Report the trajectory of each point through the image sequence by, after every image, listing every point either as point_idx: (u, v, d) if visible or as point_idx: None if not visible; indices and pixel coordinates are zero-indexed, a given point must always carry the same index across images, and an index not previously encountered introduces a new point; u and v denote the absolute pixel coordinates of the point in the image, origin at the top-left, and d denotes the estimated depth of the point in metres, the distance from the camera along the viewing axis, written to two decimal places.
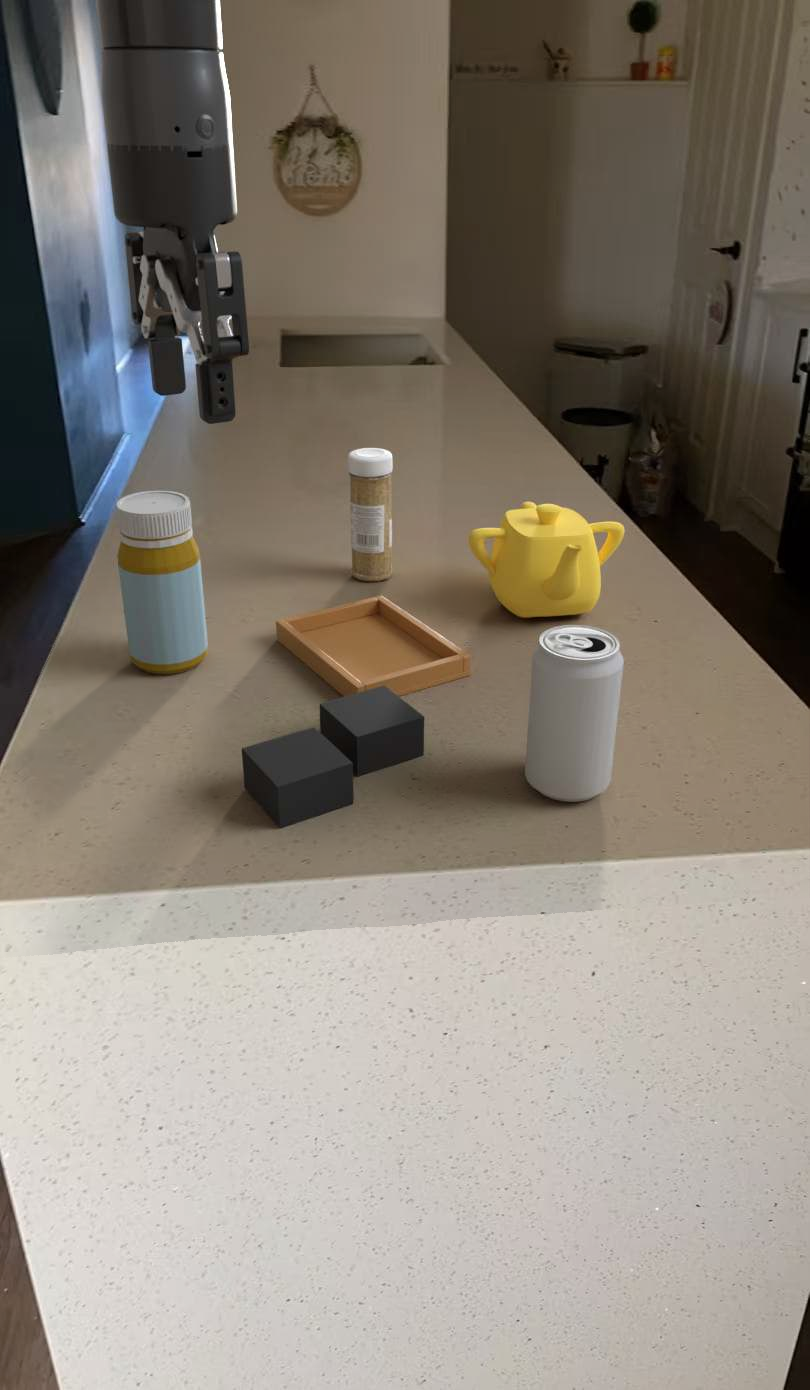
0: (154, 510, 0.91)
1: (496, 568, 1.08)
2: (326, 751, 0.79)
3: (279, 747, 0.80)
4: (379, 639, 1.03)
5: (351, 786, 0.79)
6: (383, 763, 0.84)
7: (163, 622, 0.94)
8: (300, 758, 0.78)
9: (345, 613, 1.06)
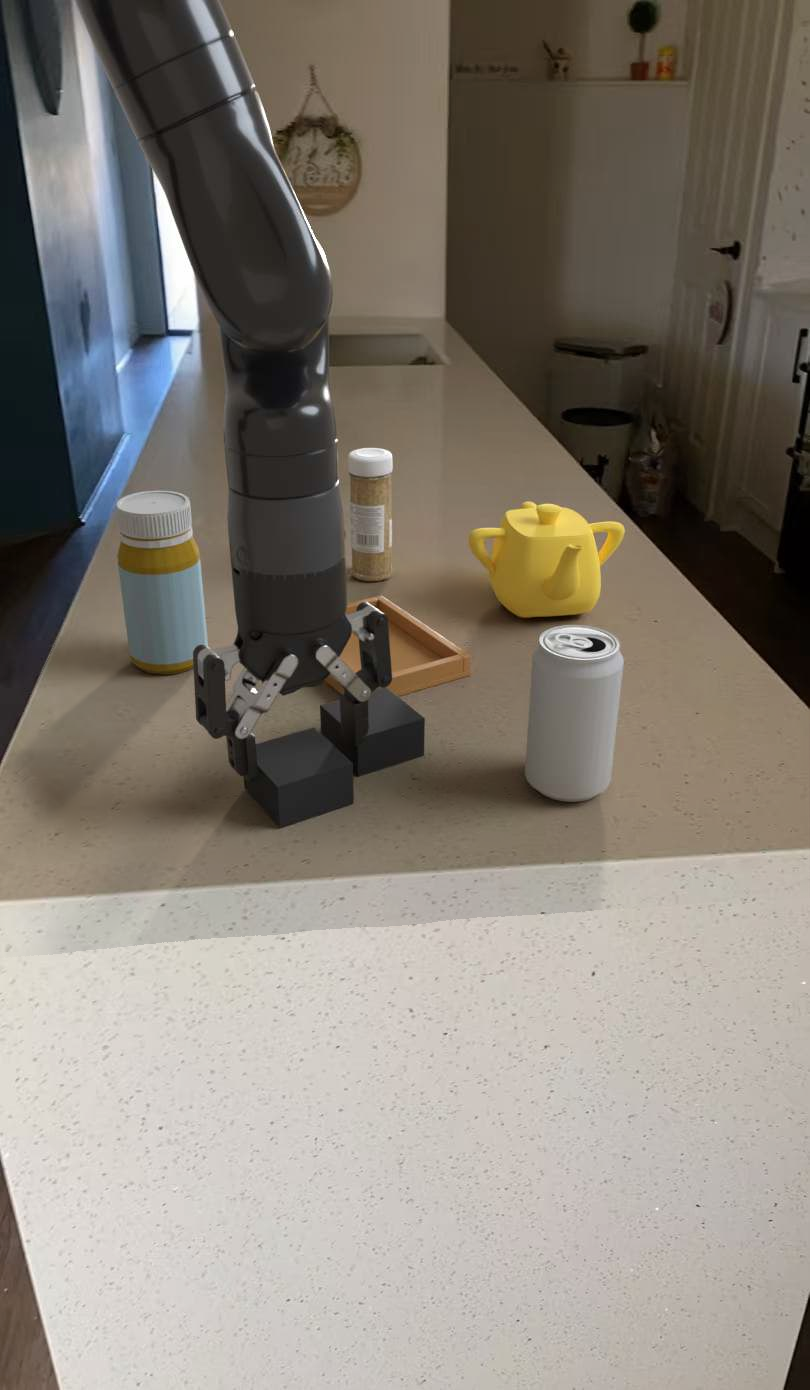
0: (154, 510, 0.91)
1: (496, 567, 1.08)
2: (326, 751, 0.79)
3: (279, 747, 0.80)
4: None
5: (351, 786, 0.79)
6: (384, 764, 0.84)
7: (163, 622, 0.94)
8: (300, 758, 0.78)
9: (345, 613, 1.06)
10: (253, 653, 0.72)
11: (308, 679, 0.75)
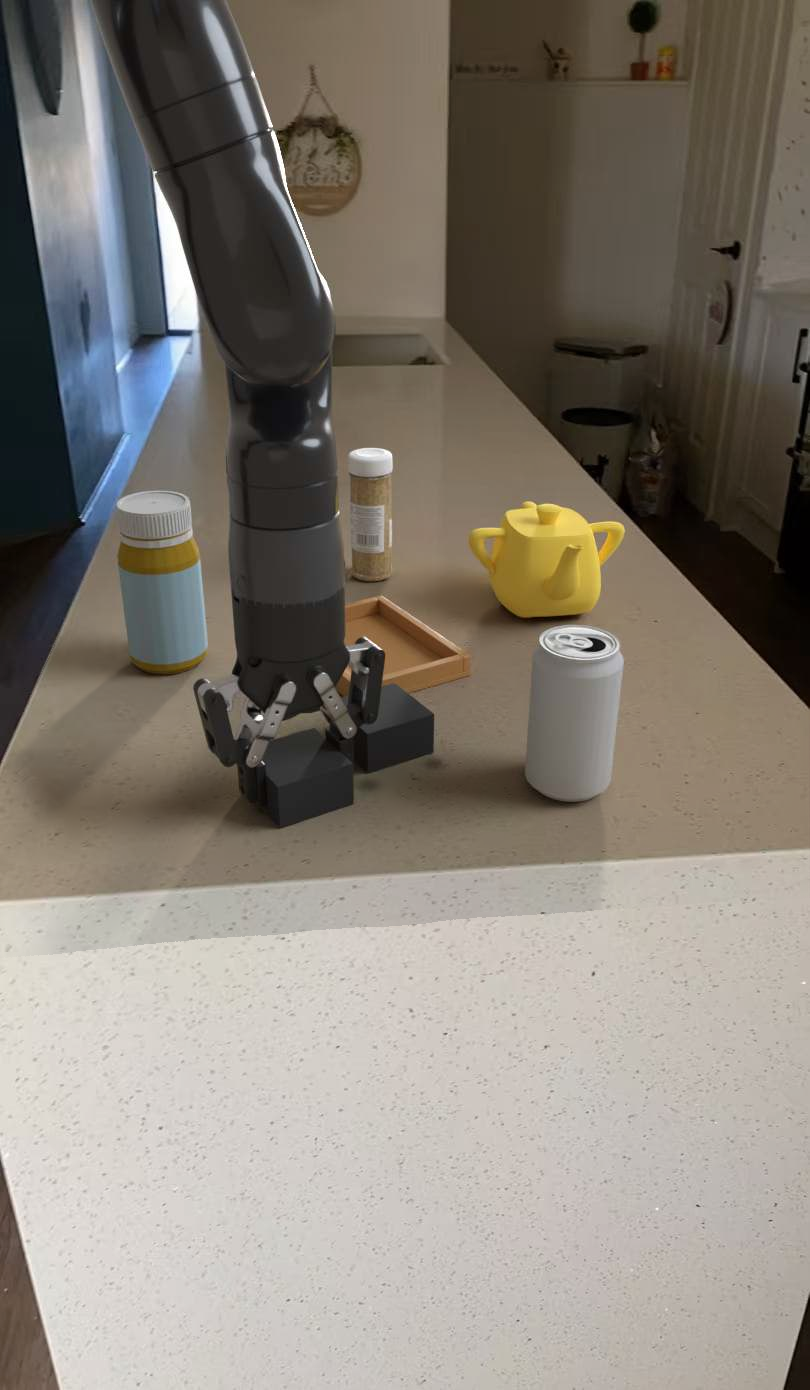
0: (154, 510, 0.91)
1: (496, 567, 1.08)
2: (326, 751, 0.79)
3: (279, 747, 0.80)
4: (379, 639, 1.03)
5: (351, 786, 0.79)
6: (393, 760, 0.84)
7: (163, 622, 0.94)
8: (300, 759, 0.78)
9: (345, 613, 1.06)
10: (252, 680, 0.73)
11: (306, 705, 0.76)
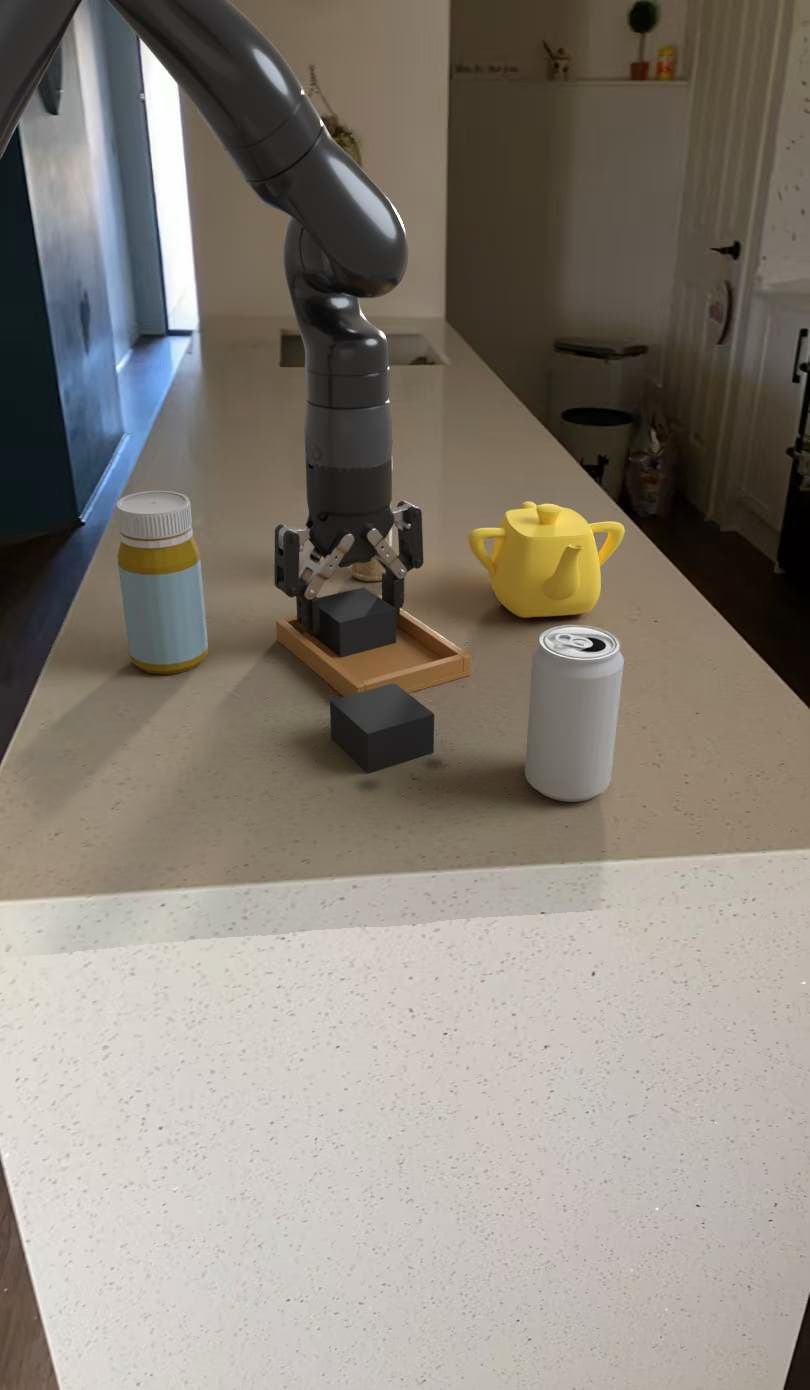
0: (154, 510, 0.91)
1: (496, 567, 1.08)
2: (375, 601, 1.02)
3: (338, 599, 1.02)
4: None
5: (395, 628, 1.01)
6: (393, 760, 0.84)
7: (163, 622, 0.94)
8: (355, 606, 1.01)
9: None
10: (320, 531, 0.95)
11: (360, 556, 0.98)
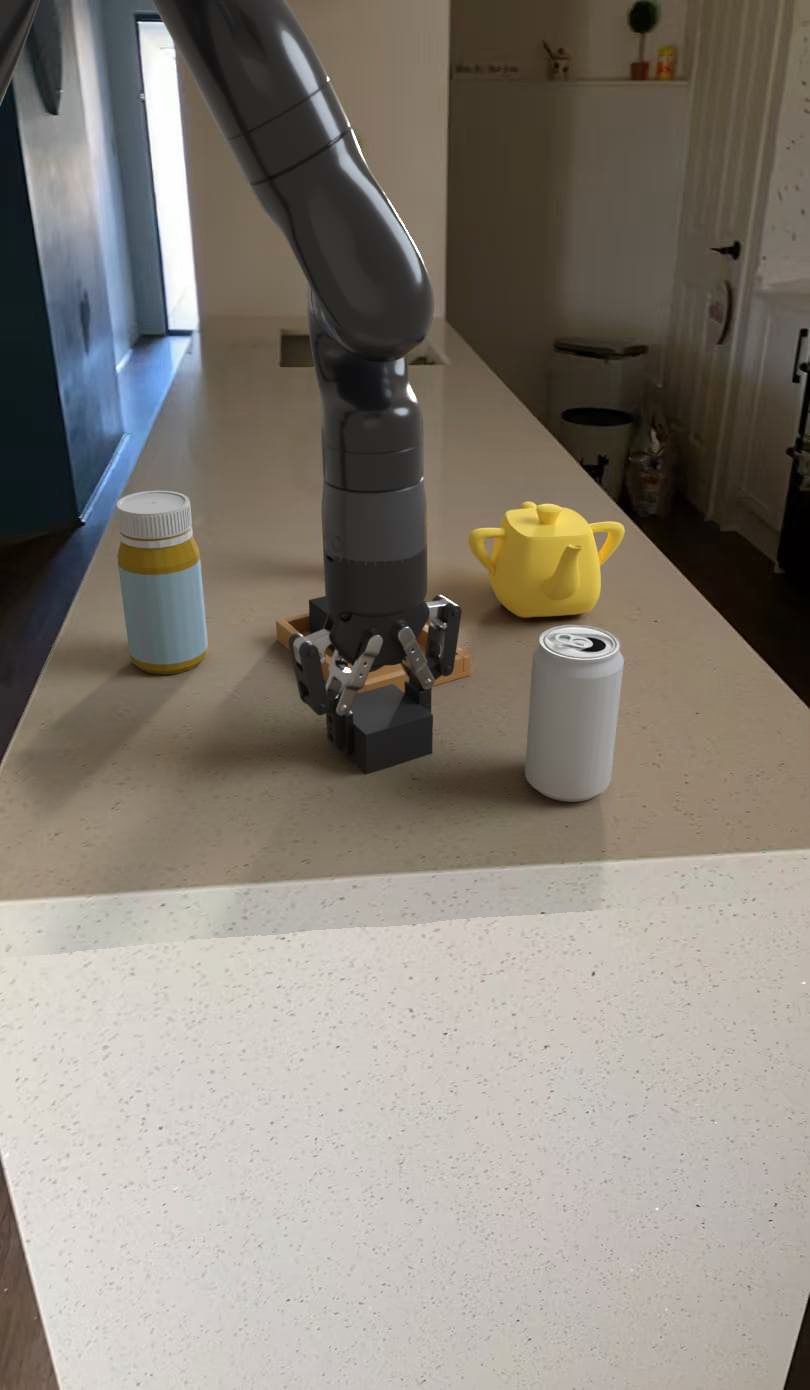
0: (154, 510, 0.91)
1: (496, 568, 1.08)
2: None
3: None
4: None
5: None
6: (392, 761, 0.84)
7: (163, 622, 0.94)
8: None
9: None
10: (343, 633, 0.79)
11: (390, 658, 0.82)
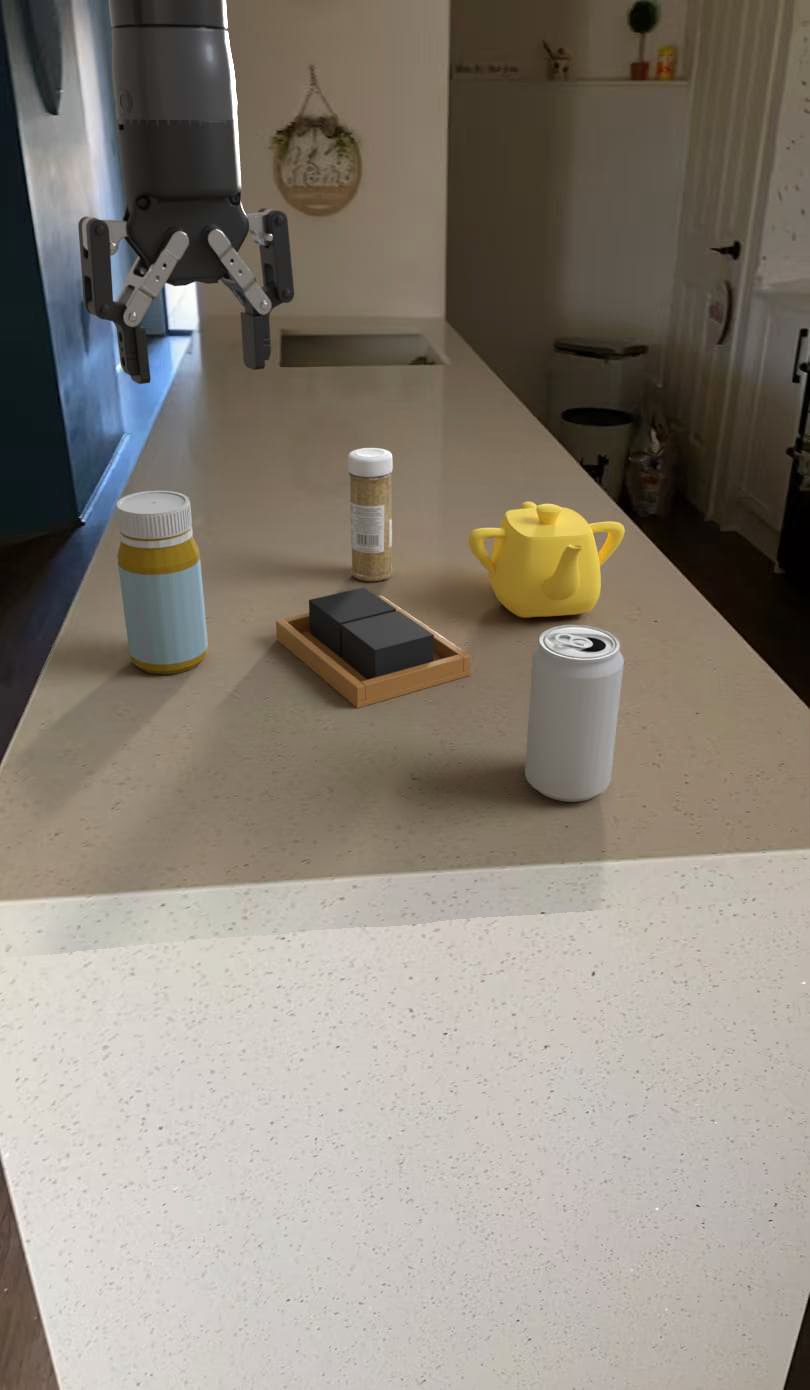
0: (154, 510, 0.91)
1: (496, 568, 1.08)
2: (375, 601, 1.02)
3: (338, 599, 1.02)
4: None
5: None
6: None
7: (163, 622, 0.94)
8: (355, 606, 1.01)
9: None
10: (140, 225, 0.69)
11: (202, 272, 0.73)
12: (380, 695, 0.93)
